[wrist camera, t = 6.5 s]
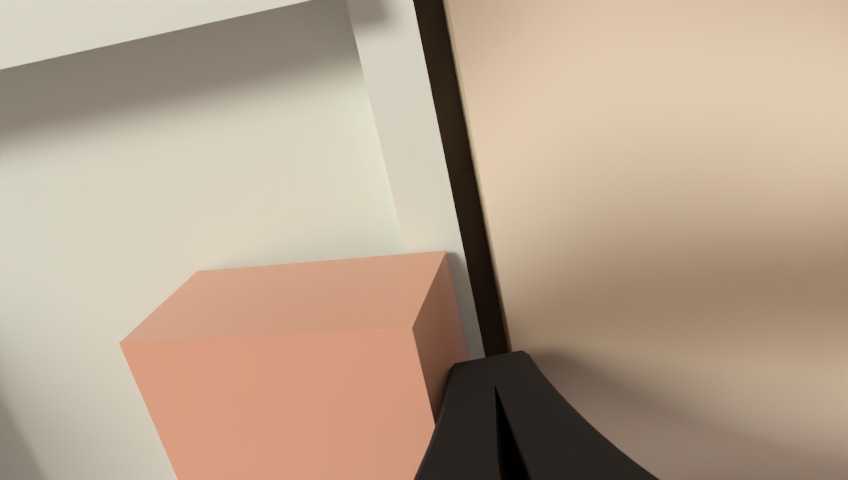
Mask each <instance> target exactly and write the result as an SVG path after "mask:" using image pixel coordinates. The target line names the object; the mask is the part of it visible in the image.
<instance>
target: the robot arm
mask: <svg viewBox="0 0 848 480" xmlns="http://www.w3.org/2000/svg"><path fill="white" fill-rule="evenodd" d="M414 480H660V479H658V478H657V477H655V476H654V475H653V474H651V473H650V472H648V471H647V470H646V469H644V468H643V467H641V466H640V465H639V464H637V463H636V462H635V461H634V460H632V459H631V458H630V457H628V456H627V455H626V454H625V453H623V452H622V451H621V450H620V449H618V448H617V447H616V446H615V445H614V444H613V443H611V442H610V441H609V440H608V439H607V438H606V437H604V436H603V435H602V434H601V433H600V432H599V431H598V430H596V429H595V428H594V427H593V426H592V425H591V424H590V423H589V422H588V421H587V420H586V419H585V418H584V417H583V416H582V415H581V414H580V413H579V412H578V411H577V410H576V409H575V408H574V407H573V406H572V405H571V404H570V403H569V402H568V401H567V400H566V399H565V398H564V397H563V396H562V395H561V394H560V393H559V392H558V391H557V390H556V388H555V387H554V386H553V385H552V384H551V383H550V382H549V380H548V379H547V378H546V377H545V376H544V374H543V373H542V372H541V371H540V369H539V368H538V367H537V365H536V364H535V362H534V361H533V360H532V358H531V356H530V355H529V354H527V353H526V352H524V351H523V350H521V351H515V352H510V353H505V354H500V355H495V356H490V357H485V358H479V359H474V360H469V361H464V362H459V363H454V365H453V366H452V367H451V368H450V370H449V377H448V383H447V388H446V393H445V397H444V400H443V404H442V407H441V411H440V414H439V417H438V420H437V423H436V426H435V429H434V431H433V434H432V437H431V440H430V443H429V445H428V448H427V450H426V452H425V455H424V457H423V459H422V462H421V464H420V466H419V468H418V471H417V473H416V475H415V478H414Z"/></svg>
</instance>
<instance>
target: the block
mask: <svg viewBox="0 0 848 480" xmlns="http://www.w3.org/2000/svg"><path fill="white" fill-rule="evenodd" d="M119 344H120V347H121V349H122V351H123V354H124V356H125V358H126V361H127V363H128V365H129V368H130V370H131V372H132V375H133V377H134V379H135V382H136V384H137V386H138V388H139V391H140V393H141V395H142V398H143V400H144V402H145V405H146V407H147V409H148V412H149V414H150V416H151V419H152V421H153V423H154V425H155V428H156V430H157V432H158V435H159V437H160V439H161V442H162V444H163V446H164V449H165V451H166V453H167V456H168V458H169V460H170V463H171V465H172V467H173V469H174V472H175V474H176V476H177V479H178V480H414V478H415V475H416V473H417V471H418V468H419V466H420V464H421V462H422V459H423V457H424V455H425V452H426V450H427V448H428V445H429V443H430V440H431V437H432V434H433V431H434V429H435V426H436V423H437V420H438V417H439V414H440V411H441V407H442V404H443V400H444V397H445V393H446V388H447V383H448V377H449V370H450V368H451V367H452V366H453V365H454V363H459V362H464V361H469V359H468V354H467V349H466V344H465V339H464V334H463V329H462V325H461V320H460V315H459V310H458V305H457V300H456V295H455V290H454V286H453V281H452V276H451V271H450V266H449V261H448V256H447V251H446V250H445V251H433V252H421V253H409V254H397V255H386V256H374V257H362V258H350V259H338V260H326V261H314V262H302V263H290V264H278V265H266V266H254V267H242V268H230V269H218V270H206V271H197V272H196V273H194V274H193V275H192V276H191V277H190V278H189V279H188V280H187V281H186V282H185V283H184V284H183V285H181V286H180V287H179V288H178V289H177V290H176V291H175V292H174V293H173V294H172V295H171V296H169V297H168V298H167V299H166V300H165V301H164V302H163V303H162V304H161V305H160V306H159V307H158V308H156V309H155V310H154V311H153V312H152V313H151V314H150V315H149V316H148V317H147V318H146V319H145V320H143V321H142V322H141V323H140V324H139V325H138V326H137V327H136V328H135V329H134V330H133V331H131V332H130V333H129V334H128V335H127V336H126V337H125V338H124V339H123V340H122V341H121V342H120V343H119Z"/></svg>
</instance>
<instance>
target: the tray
mask: <svg viewBox="0 0 848 480" xmlns="http://www.w3.org/2000/svg"><path fill="white" fill-rule="evenodd" d="M445 250H446V251H447V256H448V261H449V266H450V271H451V276H452V281H453V286H454V290H455V295H456V300H457V305H458V310H459V315H460V320H461V325H462V329H463V334H464V339H465V344H466V349H467V354H468V359H469V360H474V359H479V358H485V353H484V348H483V343H482V338H481V333H480V328H479V324H478V319H477V314H476V309H475V304H474V299H473V294H472V289H471V284H470V279H469V274H468V269H467V264H466V259H465V255H464V250H463V245H462V240H461V235H460V230H459V225H458V220H457V215H456V210H455V205H454V200H453V195H452V190H451V186H450V181H449V176H448V171H447V166H446V161H445V156H444V151H443V146H442V141H441V136H440V131H439V126H438V121H437V116H436V112H435V107H434V102H433V97H432V92H431V87H430V82H429V77H428V72H427V67H426V62H425V57H424V52H423V47H422V43H421V38H420V33H419V28H418V23H417V18H416V13H415V8H414V3H413V0H0V480H178V479H177V476H176V474H175V472H174V469H173V467H172V465H171V463H170V460H169V458H168V456H167V453H166V451H165V449H164V446H163V444H162V442H161V439H160V437H159V435H158V432H157V430H156V428H155V425H154V423H153V421H152V419H151V416H150V414H149V412H148V409H147V407H146V405H145V402H144V400H143V398H142V395H141V393H140V391H139V388H138V386H137V384H136V382H135V379H134V377H133V375H132V372H131V370H130V368H129V365H128V363H127V361H126V358H125V356H124V354H123V351H122V349H121V347H120V344H119V343H120V342H121V341H122V340H123V339H124V338H125V337H126V336H127V335H128V334H129V333H130V332H131V331H133V330H134V329H135V328H136V327H137V326H138V325H139V324H140V323H141V322H142V321H143V320H145V319H146V318H147V317H148V316H149V315H150V314H151V313H152V312H153V311H154V310H155V309H156V308H158V307H159V306H160V305H161V304H162V303H163V302H164V301H165V300H166V299H167V298H168V297H169V296H171V295H172V294H173V293H174V292H175V291H176V290H177V289H178V288H179V287H180V286H181V285H183V284H184V283H185V282H186V281H187V280H188V279H189V278H190V277H191V276H192V275H193V274H194V273H196V272H197V271H206V270H218V269H230V268H242V267H254V266H266V265H278V264H290V263H302V262H314V261H326V260H338V259H350V258H362V257H374V256H386V255H397V254H409V253H421V252H433V251H445Z"/></svg>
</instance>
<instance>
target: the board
mask: <svg viewBox="0 0 848 480" xmlns="http://www.w3.org/2000/svg"><path fill="white" fill-rule="evenodd" d="M442 4H443V9H444V14H445V20H446V25H447V30H448V36H449V41H450V46H451V52H452V57H453V62H454V68H455V73H456V78H457V84H458V89H459V94H460V100H461V105H462V110H463V116H464V121H465V126H466V132H467V137H468V142H469V148H470V153H471V158H472V164H473V169H474V174H475V180H476V185H477V190H478V196H479V201H480V206H481V212H482V217H483V222H484V228H485V233H486V238H487V244H488V249H489V254H490V260H491V265H492V270H493V276H494V281H495V286H496V292H497V297H498V303H499V308H500V313H501V319H502V324H503V329H504V335H505V340H506V345H507V351H508V353H510V352H515V351H521V350H523V351H524V352H526V353H527V354H529V355H530V356H531V358H532V360H533V361H534V362H535V364H536V365H537V367H538V368H539V369H540V371H541V372H542V373H543V374H544V376H545V377H546V378H547V379H548V380H549V382H550V383H551V384H552V385H553V386H554V387H555V388H556V390H557V391H558V392H559V393H560V394H561V395H562V396H563V397H564V398H565V399H566V400H567V401H568V402H569V403H570V404H571V405H572V406H573V407H574V408H575V409H576V410H577V411H578V412H579V413H580V414H581V415H582V416H583V417H584V418H585V419H586V420H587V421H588V422H589V423H590V424H591V425H592V426H593V427H594V428H595V429H596V430H598V431H599V432H600V433H601V434H602V435H603V436H604V437H606V438H607V439H608V440H609V441H610V442H611V443H613V444H614V445H615V446H616V447H617V448H618V449H620V450H621V451H622V452H623V453H625V454H626V455H627V456H628V457H630V458H631V459H632V460H634V461H635V462H636V463H637V464H639V465H640V466H641V467H643V468H644V469H646V470H647V471H648V472H650V473H651V474H653V475H654V476H655V477H657V478H658V479H660V480H848V0H442Z"/></svg>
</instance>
